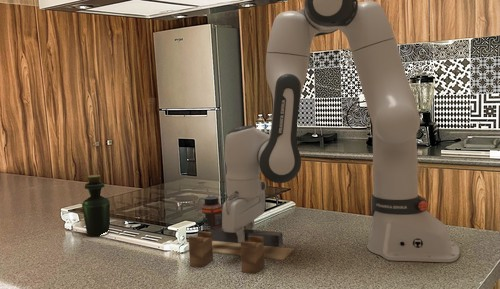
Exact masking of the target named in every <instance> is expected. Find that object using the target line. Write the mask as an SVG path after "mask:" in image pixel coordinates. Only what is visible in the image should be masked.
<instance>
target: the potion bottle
mask: <svg viewBox="0 0 500 289" xmlns="http://www.w3.org/2000/svg"><path fill="white" fill-rule="evenodd" d="M87 181H88V182H87V183H85V185H84V189H86V190H88V193H89V197H88V198H86V199H85V200H84V201H83V202H82V205H81V207H82V213H83V218H84V224H85V230H86V234H87V236H89V237H91V238H93V237H94V238H96V237H101V236H100V235H101V234H103V233H105V232H107V231H108V230H109V231H110V220H111V219H110V214H111V213H110V212H111V211H110V208H111V207H110V206H111V203H110V202H111V201H110V200H109V199H108V198H106V197H105V196H102V195H101V192H102V189H103V188H105V187H106V186H105V183H104V182H103V181H101V175H100V174H91V175H87Z"/></svg>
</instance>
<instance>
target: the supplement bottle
mask: <svg viewBox="0 0 500 289" xmlns="http://www.w3.org/2000/svg"><path fill="white" fill-rule="evenodd" d="M222 211H223V205H222V204H221V203H219V197H218V196H217V195H210V196H206V197H204V204H202V206H201V218H202V219H203V220H204V225H203V224H202V231H203V230H204V231H205V232H209V229H211V228H212V227H222ZM203 220H202V221H203Z"/></svg>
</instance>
